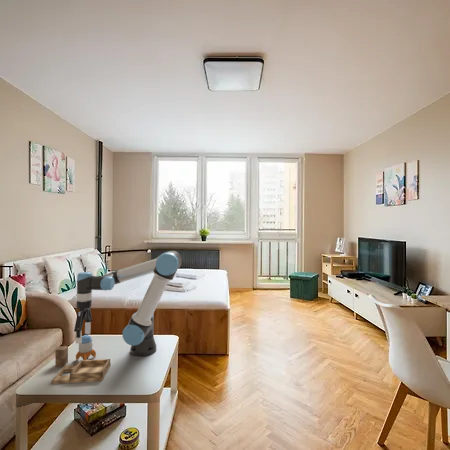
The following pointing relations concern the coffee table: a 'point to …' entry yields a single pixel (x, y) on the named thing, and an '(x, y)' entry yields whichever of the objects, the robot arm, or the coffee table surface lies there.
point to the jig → (83, 371)
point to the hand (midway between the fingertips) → (83, 338)
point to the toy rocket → (85, 348)
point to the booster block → (61, 356)
